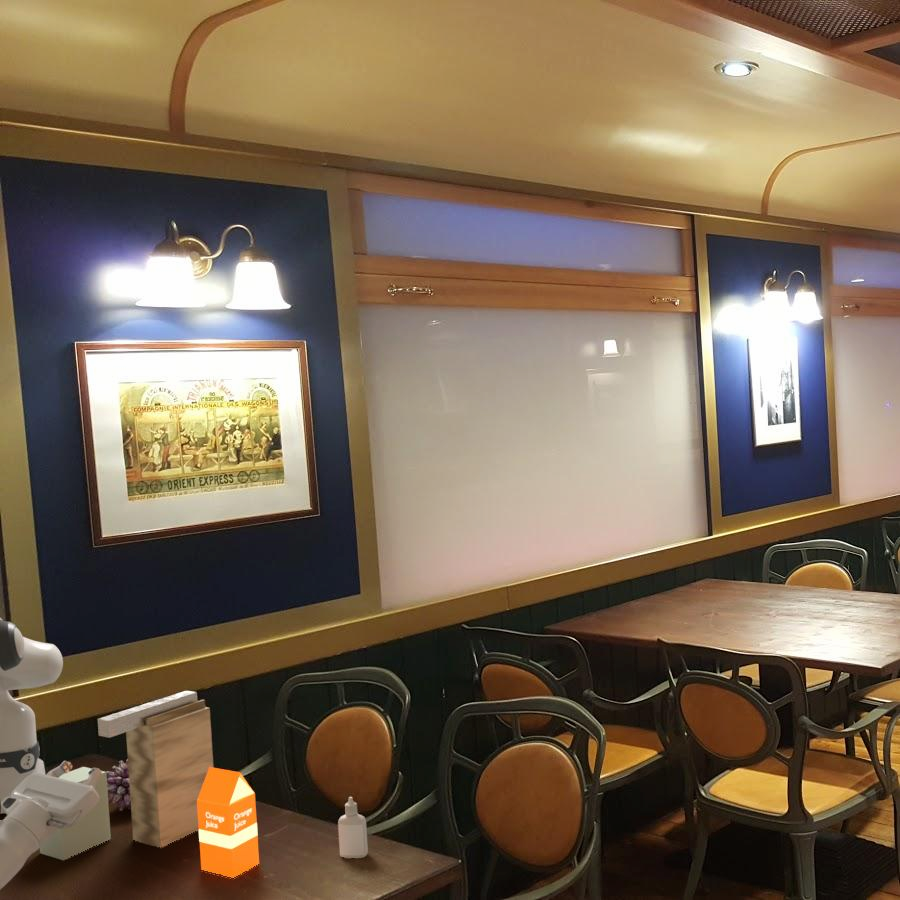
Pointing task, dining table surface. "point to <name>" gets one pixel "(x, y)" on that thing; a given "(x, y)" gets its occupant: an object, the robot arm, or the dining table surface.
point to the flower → (119, 786)
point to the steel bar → (142, 714)
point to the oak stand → (168, 773)
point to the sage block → (82, 823)
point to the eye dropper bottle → (352, 832)
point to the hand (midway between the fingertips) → (83, 766)
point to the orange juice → (227, 824)
